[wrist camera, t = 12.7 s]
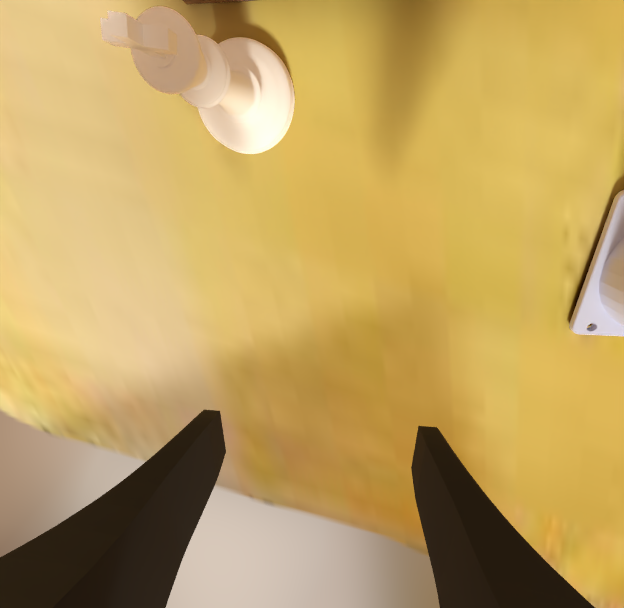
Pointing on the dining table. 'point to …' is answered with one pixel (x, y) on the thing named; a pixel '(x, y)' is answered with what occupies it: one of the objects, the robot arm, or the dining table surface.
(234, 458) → the dining table surface
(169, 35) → the chess piece
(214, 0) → the walnut board
